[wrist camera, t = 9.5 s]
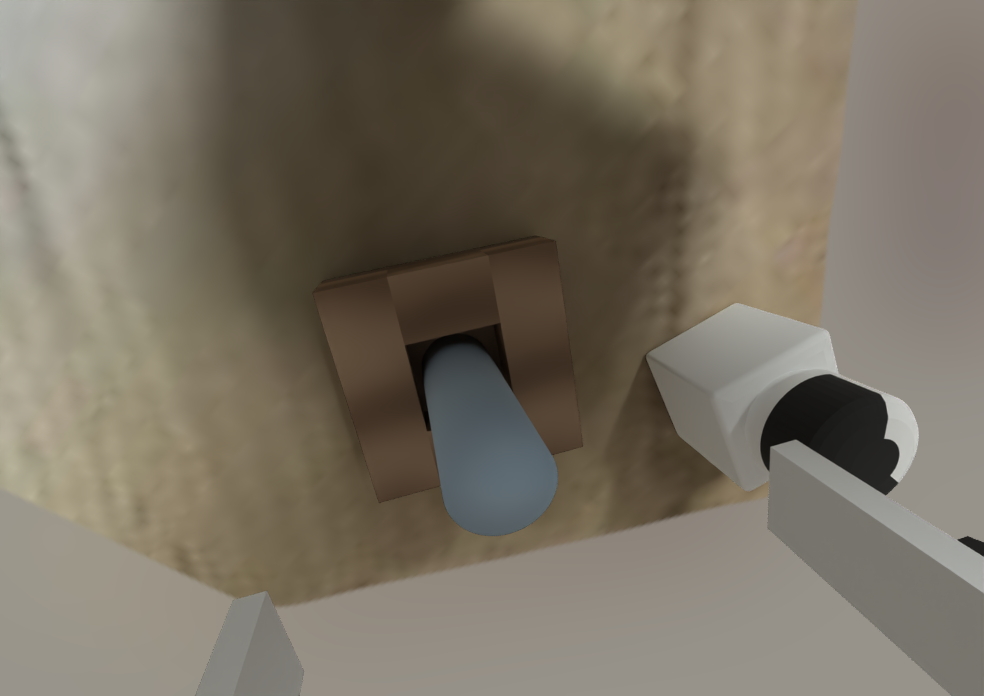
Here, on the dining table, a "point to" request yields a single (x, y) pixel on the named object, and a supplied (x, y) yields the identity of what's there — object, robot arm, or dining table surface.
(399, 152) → the dining table surface
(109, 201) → the dining table surface
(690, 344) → the medicine bottle
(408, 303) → the socket block
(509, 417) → the pin
